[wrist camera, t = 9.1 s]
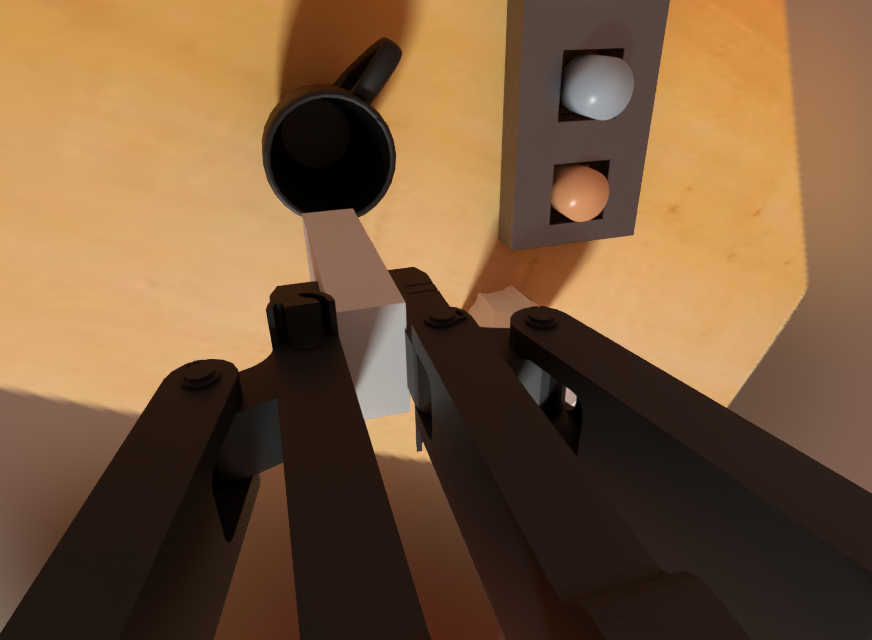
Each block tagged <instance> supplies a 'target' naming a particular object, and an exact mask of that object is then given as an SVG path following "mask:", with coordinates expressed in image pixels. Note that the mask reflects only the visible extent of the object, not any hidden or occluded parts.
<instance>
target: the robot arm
mask: <svg viewBox="0 0 872 640" xmlns="http://www.w3.org/2000/svg"><path fill="white" fill-rule="evenodd" d="M302 219H303V226H304V234H305V242H306V249H307V257H308V265H309V272H310V280H311V282H305V283H298V284H290V285H282V286H277V287H276V288H275V290H274V291H273V292H272V293H271V295H270V303H268V305H267V308H266V313H267V319H268V325H269V330H270V336H271V342H272V348H273V351H272V353H271V354H270V355H269V356H268V357H267V358H266V359H265V360H264V361H262V362H261V363H259V364H257V365H255V366H253V367H250V368H248V369H246V370H243V371H240V372H238V369H237V368H236V367H235V365H234V364H233V363H230V362H228V361H225V360H218V359H207V360H197V361H193V362H192V363H191V362H190V363H187V364H185V365H183V366H181V367H179V368H178V369H176V370H174V371H172V372H171V373H170V374H169V375H168V376H167V377H166V378H165V379H164V380H163V382H162V383H161V385H160V386H159V388H158V389H157V391H156V392H155V394H154V396H153V397H152V399H151V400H150V402H149V403H148V405H147V406H146V408H145V410H144V411H143V413H142V414H141V416H140V417H139V419H138V421H137V422H136V424H135V425H134V427H133V428H132V430H131V431H130V433H129V435H128V436H127V437H126V439H125V441H124V442H123V444H122V445H121V447H120V448H119V450H118V452H117V453H116V455H115V456H114V458H113V460H112V461H111V462H110V464H109V465H108V467H107V469H106V470H105V472H104V473H103V475H102V476H101V478H100V479H99V481H98V482H97V484H96V486H95V487H94V489H93V490H92V492H91V494H90V495H89V497H88V498H87V500H86V501H85V503H84V505H83V506H82V507H81V509H80V511H79V512H78V514H77V515H76V517H75V518H74V520H73V521H72V523H71V524H70V526H69V528H68V529H67V531H66V532H65V534H64V535H63V537H62V538H61V540H60V542H59V543H58V545H57V546H56V548H55V549H54V551H53V552H52V554H51V555H50V557H49V559H48V560H47V562H46V563H45V565H44V566H43V568H42V569H41V571H40V573H39V574H38V576H37V577H36V579H35V580H34V582H33V583H32V585H31V587H30V588H29V590H28V591H27V593H26V594H25V596H24V597H23V599H22V601H21V602H20V604H19V605H18V607H17V608H16V610H15V612H14V613H13V614H12V616H11V618H10V619H9V621H8V622H7V624H6V625H5V627H4V628H3V630H2V632H1V633H0V640H214V637H215V634H216V630H217V627H218V623H219V620H220V617H221V614H222V610H223V607H224V603H225V600H226V597H227V593H228V590H229V587H230V584H231V580H232V577H233V573H234V570H235V567H236V563H237V560H238V557H239V553H240V550H241V547H242V543H243V540H244V537H245V533H246V530H247V527H248V523H249V520H250V516H251V513H252V510H253V507H254V503H255V500H256V497H257V493H258V490H259V487H260V473H261V472H263V471H265V470H267V469H270V468H272V467H274V466H276V465H278V464H281V463H283V464H284V474H285V485H286V495H287V505H288V516H289V527H290V537H291V547H292V558H293V569H294V580H295V590H296V601H297V611H298V622H299V632H300V640H431V638H430V635H429V632H428V629H427V626H426V622H425V619H424V616H423V612H422V609H421V606H420V603H419V599H418V596H417V593H416V589H415V586H414V583H413V579H412V576H411V573H410V569H409V566H408V563H407V559H406V557H405V553H404V550H403V546H402V543H401V540H400V537H399V533H398V530H397V526H396V523H395V520H394V517H393V513H392V510H391V507H390V503H389V500H388V497H387V493H386V490H385V487H384V484H383V480H382V477H381V474H380V470H379V467H378V464H377V460H376V457H375V454H374V450H373V447H372V444H371V441H370V437H369V434H368V431H367V427H366V424H365V421H364V420H367V419H372V418H378V417H383V416H388V415H393V414H398V413H404V412H409V411H410V394H411V396H412V398H413V401H414V403H415V420H416V445H417V452H418V451H422V443H423V442H424V445H425V447H426V450H427V452H428V454H429V457H430V459H431V462H432V464H433V466H434V469H435V471H436V474H437V476H438V479H439V481H440V483H441V486H442V488H443V491H444V493H445V495H446V498H447V500H448V502H449V505H450V507H451V510H452V512H453V514H454V517H455V519H456V522H457V524H458V527H459V529H460V532H461V534H462V536H463V539H464V541H465V544H466V546H467V548H468V551H469V553H470V556H471V558H472V560H473V563H474V565H475V568H476V570H477V572H478V575H479V577H480V580H481V582H482V585H483V587H484V589H485V592H486V594H487V597H488V599H489V601H490V604H491V606H492V609H493V611H494V613H495V616H496V618H497V621H498V623H499V626H500V628H501V630H502V633H503V635H504V637H505V640H872V493H870V492H868V491H867V490H864V489H863V488H861V487H859V486H858V485H856V484H855V483H853V482H851V481H850V480H848V479H846V478H844V477H843V476H841V475H839V474H838V473H836V472H834V471H833V470H831V469H829V468H827V467H826V466H824V465H822V464H821V463H819V462H817V461H815V460H814V459H812V458H810V457H809V456H807V455H805V454H804V453H802V452H800V451H799V450H797V449H795V448H794V447H792V446H790V445H788V444H787V443H785V442H783V441H782V440H780V439H778V438H777V437H775V436H773V435H771V434H770V433H768V432H766V431H765V430H763V429H761V428H760V427H758V426H756V425H754V424H753V423H751V422H749V421H748V420H746V419H744V418H742V417H741V416H739V415H738V414H736V413H734V412H732V411H731V410H729V409H727V408H726V407H724V406H722V405H721V404H719V403H717V402H715V401H714V400H712V399H710V398H709V397H707V396H705V395H704V394H702V393H700V392H698V391H697V390H695V389H693V388H692V387H690V386H688V385H687V384H685V383H683V382H682V381H680V380H678V379H676V378H675V377H673V376H671V375H670V374H668V373H666V372H665V371H663V370H661V369H659V368H658V367H656V366H654V365H653V364H651V363H649V362H648V361H646V360H644V359H642V358H641V357H639V356H637V355H636V354H634V353H632V352H631V351H629V350H627V349H625V348H624V347H622V346H620V345H619V344H617V343H615V342H614V341H612V340H610V339H609V338H607V337H605V336H603V335H602V334H600V333H598V332H597V331H595V330H593V329H592V328H590V327H588V326H586V325H585V324H583V323H581V322H580V321H578V320H576V319H575V318H573V317H571V316H569V315H568V314H566V313H564V312H562V311H559V310H557V309H552V308H548V307H545V306H539V307H538V306H532V307H529V308H523V309H520V310H518V311H516V312H514V313H513V315H512V316H511V317H510V328H490V327H480V326H479V325H478V324H477V322H476V321H475V320H474V318H473V317H472V316H471V315H470V314H469V313H468V312H466V311H465V310H462V309H459V308H456V307H450V306H449V305H448V303H447V302H446V301H445V299H444V298H443V296H442V295H441V293H440V292H439V291H438V290H437V288H436V286H435V285H434V284H433V282H432V281H431V279H430V278H429V276H428V275H427V273H425V272H423V271H421V270H419V269H417V268H415V267H409V268H402V269H394V270H387V269H386V267H385V265H384V263H383V261H382V260H381V258H380V256H379V254H378V252H377V251H376V249H375V247H374V245H373V244H372V242H371V240H370V238H369V236H368V235H367V233H366V231H365V229H364V227H363V226H362V224H361V222H360V220H359V218H358V217H357V215H356V213H355V211H354V210H353V208H352V209H342V210H332V211H322V212H313V213H303V214H302ZM566 387H567V388H568V389H569V390H571V391H572V392H573V393H574V394H575V395H576V396H577V398H576V405H575V407H574V406H572V405H570V404H569V403H567V402H566V401H565V396H566Z"/></svg>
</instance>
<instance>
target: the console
mask: <svg viewBox="0 0 872 640" xmlns="http://www.w3.org/2000/svg"><path fill="white" fill-rule="evenodd" d="M669 2H670V0H508V4H507V30H506V56H505V82H504V108H503V134H502V161H501V187H500V213H499V240H500V241H501V242H502V243H503V244H505V245H506V246H507V247H508V248H509V249H510V250H511V251H513V250H521V249H529V248H537V247H544V246H552V245H560V244H568V243H576V242H583V241H591V240H599V239H607V238H615V237H622V236H630V235H633V234H634V228H635V221H636V215H637V208H638V202H639V195H640V189H641V182H642V176H643V170H644V163H645V157H646V150H647V144H648V137H649V131H650V125H651V118H652V112H653V105H654V99H655V92H656V86H657V79H658V73H659V67H660V60H661V54H662V47H663V41H664V34H665V28H666V21H667V15H668V9H669ZM581 49H603V56H610V57H617V58H620V59H622V60H624V61H625V62H626V63H627V64H628V65H629V67H630V68H631V70H632V73H633V77H634V88H633V93H632V96H631V99H630V101H629V103H628V104H627V106H626V107H625V109H624V110H623V111H622V112H621V113H620V114H618V115H617V116H615V117H614V118H611V119H608V120H597V119H594V118H590V117H587V116H584V115H581V114H573V115H559V116H558V111H559V98H560V86H561V74H562V62H563V50H581ZM588 161H591V166H590V168H591V169H594V170H596V171H598V172H600V173H601V174H603V175H604V176H605V178H606V179H607V181H608V184H609V197H608V200H607V203H606V205H605V207H604V208H603V210H602V211H601V212H600V213H599V214H598V215H597V216H596V217H594V218H593V219H591V220H588V221H585V222H576V221H573V220H571V219H570V218H568V217H566V216H565V215H563V214H562V213H560V212H556V213H550V209H551V197H552V184H553V172H554V165H555V164H566V163H577V162H588Z"/></svg>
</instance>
